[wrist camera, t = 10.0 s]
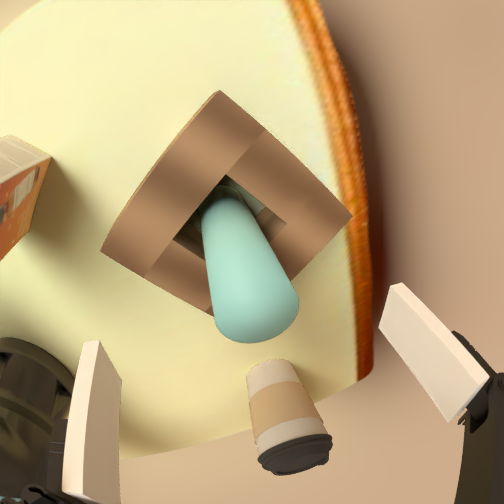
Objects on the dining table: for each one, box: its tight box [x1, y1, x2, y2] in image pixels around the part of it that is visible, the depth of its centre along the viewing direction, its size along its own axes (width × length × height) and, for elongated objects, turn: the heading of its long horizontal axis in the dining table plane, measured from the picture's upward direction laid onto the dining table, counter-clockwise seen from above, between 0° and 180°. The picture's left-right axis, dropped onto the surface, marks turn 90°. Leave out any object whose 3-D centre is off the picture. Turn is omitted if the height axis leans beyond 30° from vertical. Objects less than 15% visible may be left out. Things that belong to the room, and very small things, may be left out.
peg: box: [199, 185, 299, 343], centre depth 19 cm, size 4×4×14 cm
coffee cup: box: [246, 359, 333, 476], centre depth 32 cm, size 9×9×15 cm
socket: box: [100, 90, 352, 317], centre depth 23 cm, size 14×14×5 cm
